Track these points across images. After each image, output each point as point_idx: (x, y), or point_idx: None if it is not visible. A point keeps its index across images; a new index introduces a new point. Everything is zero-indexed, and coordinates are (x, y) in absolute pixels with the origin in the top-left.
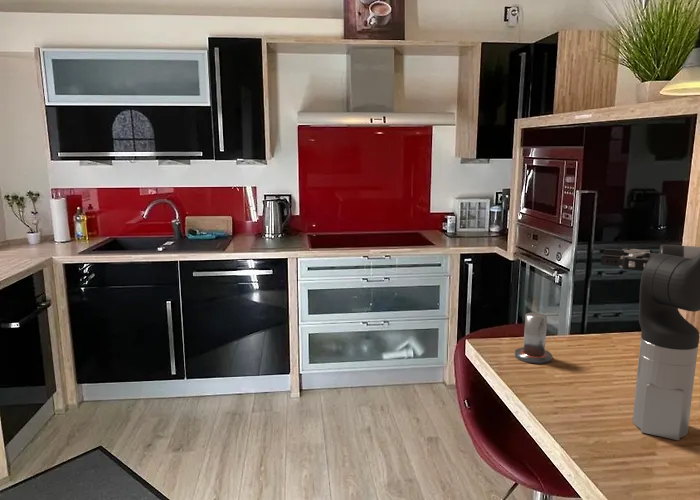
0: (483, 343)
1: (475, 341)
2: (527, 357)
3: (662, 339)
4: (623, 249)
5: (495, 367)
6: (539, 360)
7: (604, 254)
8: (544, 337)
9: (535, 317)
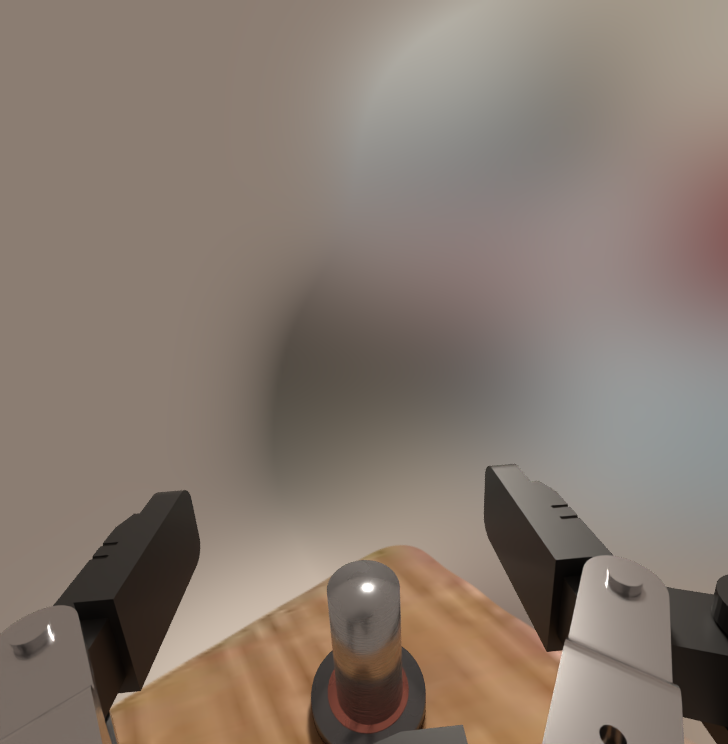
0: (399, 564)
1: (400, 549)
2: (324, 682)
3: None
4: (628, 568)
5: (251, 633)
6: (317, 724)
7: (485, 504)
8: (356, 674)
9: (339, 590)
